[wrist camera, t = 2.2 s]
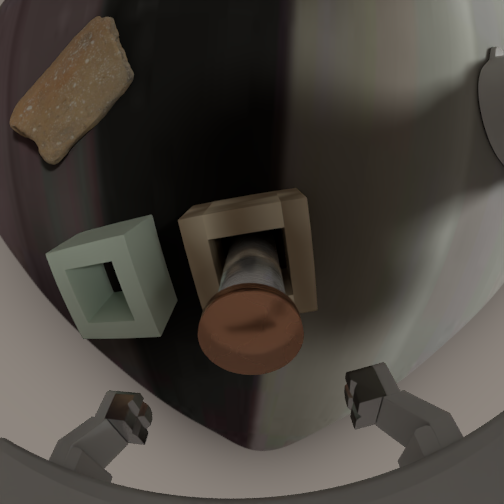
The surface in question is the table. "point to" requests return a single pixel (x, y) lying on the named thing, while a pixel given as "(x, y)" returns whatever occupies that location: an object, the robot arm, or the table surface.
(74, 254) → the socket block
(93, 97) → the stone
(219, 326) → the pin
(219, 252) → the mount block
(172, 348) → the table surface
